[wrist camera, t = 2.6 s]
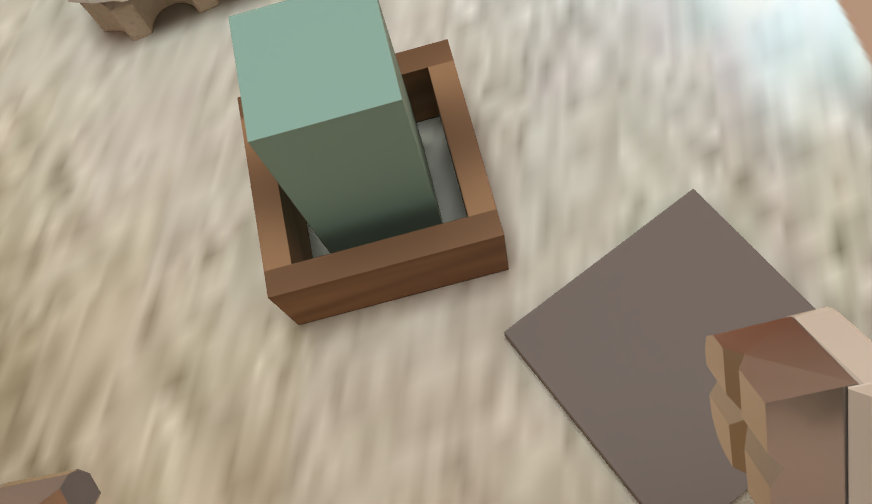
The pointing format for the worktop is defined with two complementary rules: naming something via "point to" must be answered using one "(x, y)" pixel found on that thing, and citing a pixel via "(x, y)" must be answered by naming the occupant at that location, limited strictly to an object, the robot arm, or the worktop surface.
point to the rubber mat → (655, 349)
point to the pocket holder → (397, 256)
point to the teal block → (334, 118)
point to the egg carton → (134, 13)
